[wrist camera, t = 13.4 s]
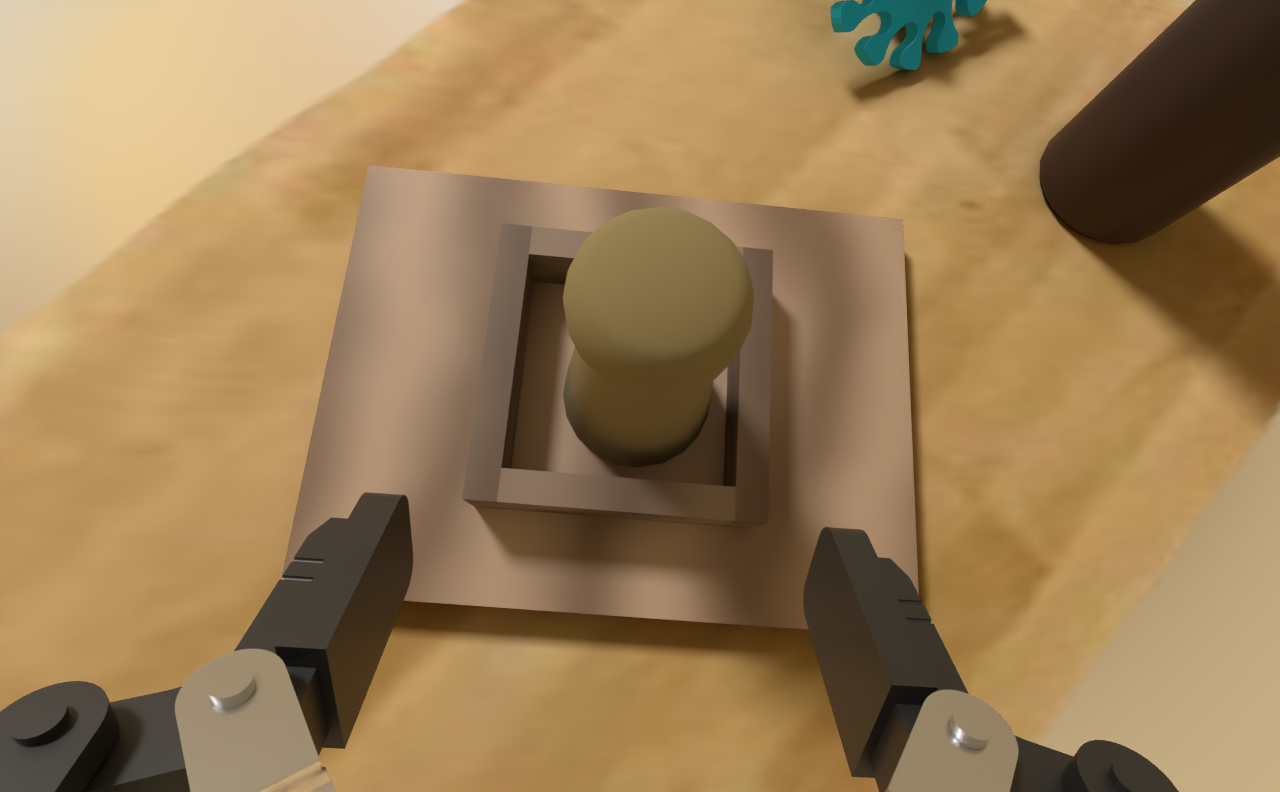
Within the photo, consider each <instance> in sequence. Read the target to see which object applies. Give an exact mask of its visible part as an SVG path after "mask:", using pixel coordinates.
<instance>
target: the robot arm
mask: <svg viewBox="0 0 1280 792" xmlns="http://www.w3.org/2000/svg"><path fill="white" fill-rule="evenodd" d="M412 570H413V546H412V535H411V523H410V512H409V502H408V498H407V496H406V495H398V494H384V493H371V492H365V493H363V494H362V495H361V497H360V498H359V500H358V502H357V504H356V505H355V507H354V509H353V511H352V512H351V514H350V516H349V517H348V519H347V518H333V517H331V518H330V519H329V520H327V521H326V522H325V523H323V524H322V525H321V526H319V527H318V528H317V529H316V530H314V531H313V532H312V533H310V534H309V535H308V536H307V538H306V539H305V541H304V542H303V544H302V545H301V547H300V549H299V550H298V552H297V553H296V555H295V556H294V561H293V562H291V563H290V564H289V566H288V567H287V569H286V571H285V572H284V574H283V577H282V580H279V582H278V583H277V585H276V586H275V588H274V589H273V591H272V593H271V594H270V596H269V597H268V599H267V600H266V602H265V604H264V605H263V607H262V608H261V610H260V611H259V613H258V615H257V616H256V618H255V619H254V621H253V622H252V624H251V626H250V627H249V629H248V630H247V632H246V633H245V635H244V637H243V638H242V640H241V641H240V643H239V644H238V646H237V647H236V649H235V650H234V651H233V652H230V653H227V654H224V655H221V656H219V657H217V658H215V659H213V660H211V661H210V662H208V663H206V664H205V665H203V666H202V667H201V668H199V669H198V670H197V671H196V672H194V673H193V674H192V675H191V676H190V677H189V678H188V680H187V681H186V682H185V683H184V684H183V686H181V687H179V688H175V689H172V690H168V691H163V692H159V693H154V694H149V695H144V696H139V697H135V698H130V699H125V700H120V701H115V702H111V703H110V702H109V700H108V697H107V695H106V693H105V691H104V690H103V689H101V688H100V687H99V686H97V685H95V684H92V683H89V682H81V681H73V682H64V683H58V684H54V685H51V686H47V687H44V688H42V689H39V690H37V691H34V692H32V693H30V694H28V695H26V696H24V697H22V698H20V699H19V700H17V701H15V702H13V703H12V704H10V705H9V706H8V707H6V708H5V709H3V710H2V711H1V712H0V792H335V789H334V787H333V784H332V781H331V779H330V776H329V774H328V772H327V770H326V768H325V767H322V764H321V762H320V759H319V757H318V756H319V754H320V752H321V749H322V747H323V748H343V749H345V747H346V744H347V742H348V739H349V737H350V734H351V731H352V729H353V726H354V724H355V721H356V719H357V716H358V714H359V711H360V709H361V706H362V704H363V701H364V699H365V696H366V694H367V691H368V689H369V686H370V684H371V681H372V679H373V676H374V674H375V671H376V669H377V666H378V664H379V661H380V659H381V656H382V654H383V651H384V649H385V646H386V643H387V641H388V638H389V636H390V633H391V631H392V628H393V626H394V623H395V621H396V618H397V616H398V613H399V611H400V608H401V606H402V603H403V601H404V598H405V596H406V593H407V591H408V588H409V585H410V581H411V576H412ZM921 602H922V600H921V598H920V596H919V594H918V592H917V590H916V588H915V586H914V584H913V582H912V581H911V579H910V577H909V576H908V575H907V574H906V573H905V572H904V571H903V570H902V569H901V568H900V567H899V566H898V565H897V564H896V563H895V562H894V561H893V560H892V559H891V558H881V557H877V554H876V552H875V550H874V548H873V546H872V544H871V541H870V539H869V537H868V535H867V533H866V532H865V531H864V530H860V529H847V528H833V527H824V528H823V529H822V530H821V532H820V535H819V538H818V541H817V545H816V548H815V551H814V555H813V558H812V561H811V564H810V568H809V571H808V574H807V578H806V581H805V585H804V592H803V607H804V614H805V618H806V622H807V625H808V628H809V632H810V635H811V639H812V642H813V645H814V649H815V652H816V656H817V659H818V663H819V666H820V669H821V673H822V676H823V680H824V683H825V686H826V690H827V693H828V697H829V700H830V704H831V707H832V710H833V714H834V717H835V721H836V724H837V727H838V731H839V734H840V738H841V741H842V745H843V748H844V751H845V755H846V758H847V762H848V765H849V769H850V772H851V775H852V777H869V778H875V780H876V783H877V786H878V789H879V792H1178V790H1177V789H1176V788H1175V786H1174V785H1173V783H1172V782H1171V781H1170V780H1169V779H1168V778H1167V777H1166V775H1165V774H1164V773H1163V772H1162V771H1161V770H1159V769H1158V768H1157V767H1156V766H1155V765H1154V764H1152V763H1151V762H1150V761H1149V760H1147V759H1146V758H1144V757H1143V756H1141V755H1140V754H1138V753H1137V752H1135V751H1133V750H1131V749H1129V748H1127V747H1125V746H1122V745H1120V744H1117V743H1113V742H1110V741H1105V740H1093V741H1089V742H1087V743H1084V744H1083V745H1082V746H1081V747H1080V748H1079V750H1078V751H1077V753H1076V754H1075V756H1074V757H1073V756H1070V755H1067V754H1064V753H1062V752H1059V751H1056V750H1052V749H1050V748H1047V747H1044V746H1041V745H1038V744H1035V743H1032V742H1030V741H1027V740H1024V739H1022V738H1019V737H1017V736H1015V735H1014V733H1013V731H1012V729H1011V728H1010V726H1009V725H1008V723H1007V722H1006V721H1005V720H1004V719H1003V717H1002V716H1001V715H1000V714H999V713H998V712H997V711H996V710H994V709H993V708H992V707H991V706H989V705H988V704H987V703H985V702H983V701H982V700H980V699H979V698H977V697H974V696H972V695H970V694H969V693H968V692H967V690H966V688H965V686H964V684H963V682H962V680H961V678H960V676H959V674H958V672H957V670H956V668H955V666H954V664H953V662H952V660H951V658H950V656H949V654H948V652H947V650H946V648H945V646H944V644H943V642H942V640H941V638H940V636H939V634H938V632H937V630H936V628H935V626H934V624H931V618H930V616H929V614H928V612H927V610H926V608H925V606H924V605H922V604H921Z"/></svg>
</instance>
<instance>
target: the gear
mask: <svg viewBox="0 0 1280 792" xmlns="http://www.w3.org/2000/svg"><path fill="white" fill-rule="evenodd" d="M986 1H987V0H956V11H957V13H958V15H959V16H961V17H965V16H974V15H976V14H977V13H978V12H979V11H980V10H981V8H982V7H983V6H984V4H985V3H986ZM872 13H878V14H879V16H880V18H881V26H880V29H879V31H878V32H877V33H876V34H875V35H873V36H867V37H863V38H861V39H860V40H859V41H858V42H857V44H856V46H855V49H854V50H855V53H856V55H857V57H858V58H859V59H860V61H861V62H862V63H863V64H864V65H868V66H876V65H878V64H880V63H881V62H882V60H883V59H884V57H885V54H886V51H887V48H888V45H889V43H890V41H891V40H892V38H893V37H894V35H895V34H896V33H897V32H898V31H899V30H900V29H901V28H902V27H903V26H904V25H905V27H906V36H905V39H904V41H903V42H902V43H901V44H900V45H899V46H897V47H896V48H895V49H894V51H893V52H892V54H891V57H890V66H892V67H893V68H896V69H904V70H917V69H918V67H919V65H920V63H921V58H922V54H921V46H922V39H923V35H924V32H925V29H926V27H927V25H928V23H929V21H930V19H931V17H932V15H933V19H934V23H933V27H932V29H931V31H930V33H929V35H928V38H927V41H926V49H927V52H928V53H943V52H946V51H949V50H950V49H952V48H954V47H955V46H957V43H958V33H957V30H956V29H955V27H954V24H953V20H952V0H863V1H862V3H861V4H859V3H857V2H856V1H854V0H847V1H839V2H836V3H834V4H833V5H832V6H831V21H832V26H833V30H834V32H850V31H852V30H854V29H855V28H856V27H857V26H858V24H859V23H860V22H861V21H862V20H863V19H864V18H865V17H867V16H868V15H870V14H872Z"/></svg>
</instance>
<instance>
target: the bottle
mask: <svg viewBox="0 0 1280 792" xmlns="http://www.w3.org/2000/svg"><path fill="white" fill-rule="evenodd" d="M1278 157H1280V0H1195V1H1194V2H1193V3H1192V4H1191V5H1190V6H1189V7H1188V8H1187V9H1186V10H1185V11H1184V12H1183V13H1182V14H1181V15H1180V16H1179V17H1178V18H1177V19H1176V20H1175V21H1174V22H1173V23H1172V24H1171V25H1170V26H1168V27H1167V28H1166V29H1165V30H1164V31H1163V32H1162V33H1161V34H1160V35H1159V36H1158V37H1157V38H1156V39H1155V40H1154V41H1153V42H1152V43H1151V44H1150V45H1149V46H1148V47H1147V48H1146V49H1145V50H1144V51H1143V52H1142V53H1140V54H1139V55H1138V56H1137V57H1136V58H1135V59H1134V60H1133V61H1132V62H1131V63H1130V64H1129V65H1128V66H1127V67H1126V68H1125V69H1124V70H1123V71H1122V72H1121V73H1120V74H1119V75H1118V76H1117V77H1116V78H1115V79H1114V80H1112V81H1111V82H1110V83H1109V84H1108V85H1107V86H1106V87H1105V88H1104V89H1103V90H1102V91H1101V92H1100V93H1099V94H1098V95H1097V96H1096V97H1095V98H1094V99H1093V100H1092V101H1091V102H1090V103H1089V104H1088V105H1087V106H1085V107H1084V108H1083V109H1082V110H1081V111H1080V112H1079V113H1078V114H1077V115H1076V116H1075V117H1074V118H1073V119H1072V120H1071V121H1070V122H1069V123H1068V124H1067V125H1066V126H1065V127H1064V128H1063V129H1062V130H1061V131H1060V132H1059V133H1057V134H1056V135H1055V136H1054V137H1053V138H1052V139H1051V140H1050V141H1049V143H1048V145H1047V147H1046V149H1045V151H1044V153H1043V156H1042V158H1041V160H1040V181H1041V184H1042V188H1043V191H1044V195H1045V197H1046V199H1047V200H1048V202H1049V203H1050V205H1051V206H1052V208H1053V209H1054V211H1055V212H1056V214H1057V215H1058V216H1059V217H1061V218H1062V219H1063V220H1064V221H1065V222H1066V223H1067V224H1068V225H1069V226H1071V227H1072V228H1073V229H1075V230H1077V231H1079V232H1081V233H1083V234H1084V235H1086V236H1088V237H1090V238H1092V239H1096V240H1100V241H1105V242H1109V243H1129V242H1136V241H1139V240H1141V239H1143V238H1146V237H1148V236H1151V235H1153V234H1155V233H1157V232H1158V231H1160V230H1162V229H1163V228H1165V227H1166V226H1168V225H1170V224H1171V223H1173V222H1175V221H1176V220H1178V219H1179V218H1181V217H1183V216H1184V215H1186V214H1187V213H1189V212H1191V211H1192V210H1194V209H1196V208H1197V207H1199V206H1200V205H1202V204H1204V203H1205V202H1207V201H1208V200H1210V199H1212V198H1213V197H1215V196H1217V195H1218V194H1220V193H1221V192H1223V191H1225V190H1226V189H1228V188H1229V187H1231V186H1233V185H1234V184H1236V183H1238V182H1239V181H1241V180H1242V179H1244V178H1246V177H1247V176H1249V175H1250V174H1252V173H1254V172H1255V171H1257V170H1259V169H1260V168H1262V167H1263V166H1265V165H1267V164H1268V163H1270V162H1271V161H1273V160H1275V159H1276V158H1278Z"/></svg>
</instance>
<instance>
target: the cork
mask: <svg viewBox="0 0 1280 792" xmlns="http://www.w3.org/2000/svg"><path fill="white" fill-rule="evenodd" d="M563 303H564V310H565V316H566V322H567V328H568V334H569V336H570V338H571V340H572V342H573V344H574V345H575V348H574V351H573V354H572V357H571V360H570V364H569V367H568V370H567V374H566V379H565V385H564V391H563V398H564V405H565V411H566V417H567V419H568V421H569V423H570V425H571V427H572V428H573V430H574V432H575V434H576V436H577V438H578V439H579V440H581V441H582V442H583V443H584V444H585V445H586V446H587V447H588V448H589V449H590V450H591V451H592V452H593V453H594V454H596V455H598V456H600V457H602V458H604V459H606V460H608V461H610V462H612V463H614V464H619V465H626V466H632V467H644V466H650V465H656V464H662V463H664V462H666V461H668V460H670V459H672V458H673V457H675V456H677V455H679V454H681V453H683V452H684V451H685V450H686V449H687V448H688V447H689V446H690V444H691V443H692V442H693V441H694V440H695V439H696V438H697V437H698V436H699V434H700V432H701V430H702V428H703V425H704V423H705V421H706V419H707V417H708V412H709V405H710V399H711V392H712V386H713V380H714V379H716V378H717V377H718V376H719V375H720V374H721V373H722V372H723V371H724V370H725V369H726V368H727V367H728V366H729V364H730V363H731V362H732V361H733V360H734V359H735V358H736V357H737V355H738V354H739V352H740V350H741V348H742V346H743V344H744V341H745V339H746V337H747V335H748V333H749V331H750V329H751V325H752V314H753V304H754V290H753V286H752V282H751V278H750V273H749V269H748V265H747V263H746V262H745V260H744V259H743V257H742V255H741V254H740V252H739V251H738V249H737V247H736V246H735V244H734V242H733V241H732V240H731V239H729V238H728V237H727V236H726V235H725V234H724V233H723V232H721V231H720V230H719V229H718V228H717V227H716V226H715V225H713V224H712V223H711V222H709V221H707V220H705V219H703V218H701V217H698V216H696V215H694V214H692V213H690V212H688V211H684V210H678V209H672V208H665V207H654V208H646V209H638V210H631V211H628V212H626V213H624V214H622V215H619V216H617V217H615V218H613V219H610V220H608V221H606V222H604V223H603V224H602V225H601V226H600V227H599V228H598V229H596V230H595V231H594V232H593V233H592V234H591V235H590V236H589V237H587V238H586V239H585V241H584V242H583V244H582V246H581V248H580V249H579V251H578V253H577V255H576V256H575V258H574V260H573V261H572V263H571V265H570V267H569V269H568V272H567V277H566V283H565V288H564V294H563Z"/></svg>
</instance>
